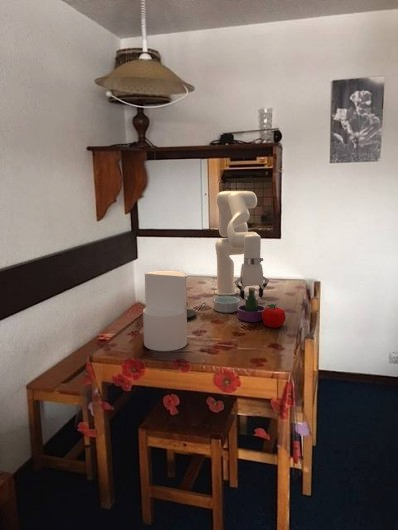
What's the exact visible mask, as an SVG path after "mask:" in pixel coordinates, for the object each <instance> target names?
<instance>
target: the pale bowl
mask: <svg viewBox="0 0 398 530" xmlns="http://www.w3.org/2000/svg"><path fill="white" fill-rule="evenodd" d="M239 306H241V299H240V298H238V297H235V296H218V297H215V298H214V299H213V310H215V311H217V312H219V313H223V314H225V313H226V314H228V313H229V314H231V313H235V312H238V307H239Z"/></svg>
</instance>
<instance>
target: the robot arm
mask: <svg viewBox="0 0 398 530" xmlns="http://www.w3.org/2000/svg"><path fill="white" fill-rule="evenodd" d="M216 204H217V208H218V211H219V212H218V213H219V217H218V233H219V235H220V236H221V237H223V238H219V239H217V240H216V241H215V244H214V247H215V254H216V289H215V290H214V294H215V295H216V296H221V297H231V296H234V295H236V294H237V293H238V292H237V290H236V288H238V290H239V297H240V298H241V300H245V298H246V297H245V295H246V294H245V292H246V291H245V289H246V287H256V286H258V287H259V288H258V298H260V299H263V296H264V290H265V288H267V286H268V284H269V282H270V279H268V278H267V277H266V276H264V270H263V264H262V262H264V258H263V257H262V256H261V248H262V247H261V243H262V242H261V240H262V237H261V235H260V234H258V233H257V232H255V231H249V230H248V229H249V228H248V223H247V222H248V221H249V219H250V216H251V215H250V211H249V209H254V208H256V207H257V204H258V198H257V195H256V193H255V192H253V191H249V190H224V191H220V192H218V193H217V195H216ZM240 255H243V263H242V264H241V268H240V275H239V277H238V278H237V279H236V280H235V261H234V260H233V259H232V258H231V256H240ZM239 283H240V284H239Z"/></svg>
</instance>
